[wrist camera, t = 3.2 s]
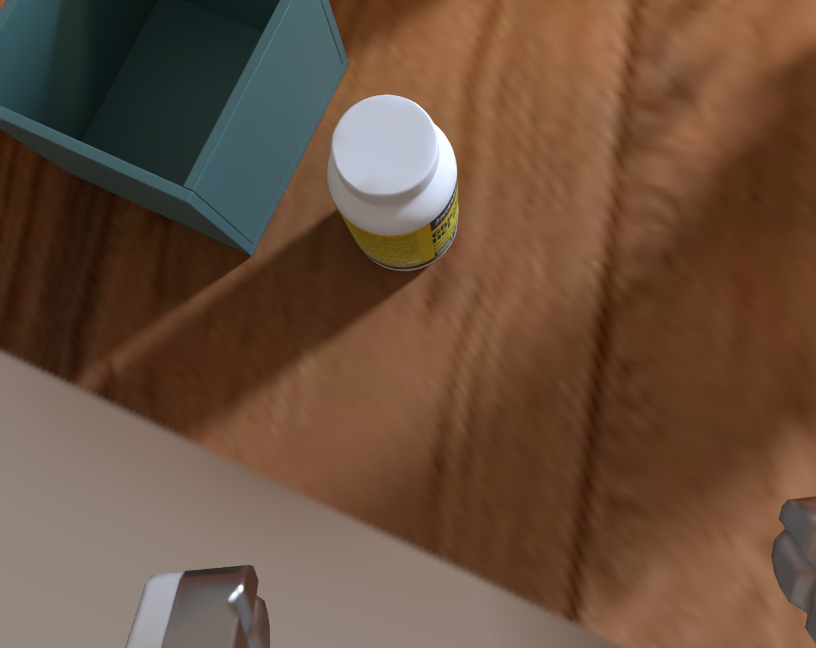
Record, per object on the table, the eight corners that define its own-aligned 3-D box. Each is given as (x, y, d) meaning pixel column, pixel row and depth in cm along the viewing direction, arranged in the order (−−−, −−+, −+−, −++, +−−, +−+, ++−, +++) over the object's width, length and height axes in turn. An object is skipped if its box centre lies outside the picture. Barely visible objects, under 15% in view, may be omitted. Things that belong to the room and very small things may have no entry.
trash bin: (163, -12, 45) (80, -134, 35) (349, 63, 43) (315, -44, 33) (64, 171, 44) (-50, 96, 34) (252, 256, 42) (187, 203, 32)
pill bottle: (455, 276, 41) (451, 218, 30) (349, 270, 41) (306, 212, 30) (462, 172, 41) (460, 79, 31) (357, 168, 42) (319, 75, 31)
